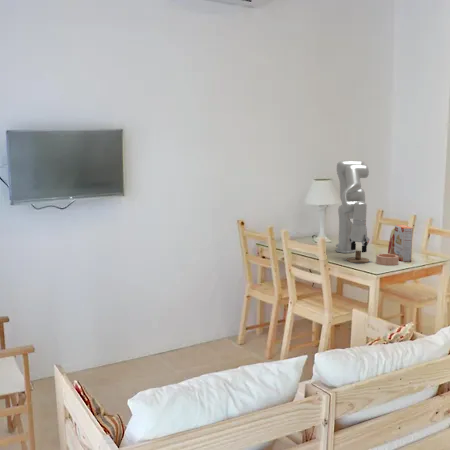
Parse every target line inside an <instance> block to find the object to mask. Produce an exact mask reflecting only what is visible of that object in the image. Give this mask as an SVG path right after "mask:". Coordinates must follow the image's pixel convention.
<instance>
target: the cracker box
mask: <svg viewBox="0 0 450 450" xmlns="http://www.w3.org/2000/svg"><path fill="white" fill-rule="evenodd" d="M394 228H395V241H394V255H398V256H399V261H400V262H405V263H406V262H412V255H413V254H412V252H413V251H412V250H413V247H412V246H413V231H414V230H413V227H410V226H407V225H405V224H395V225H394Z"/></svg>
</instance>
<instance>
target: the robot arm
mask: <svg viewBox="0 0 450 450" xmlns="http://www.w3.org/2000/svg"><path fill="white" fill-rule="evenodd" d="M336 174H337V177H338V179H339V198H340V200H341V205H339V206H338V208H337V209H338V210H337V212H338V243H337V244H335V247H337V248H335V251H336V252H337V253H342V254H353V253H356V251H357V250H356V248H357V247H356V246H357V243H361V253H367V252H368V251H367V248H368V245H369V243H370V238H369V237H368V232H367V231H368V228H367V209H368V208H367V206H368V205H367V203H366V195H365V190H364V189H363V188H361V187H362V181H361V179H366V178H368V177H369V175H370V171H369V167H368V165H367V164H366V163H365V161H363V160H341V161H338V163H336Z"/></svg>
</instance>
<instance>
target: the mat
mask: <svg viewBox="0 0 450 450" xmlns="http://www.w3.org/2000/svg"><path fill="white" fill-rule="evenodd" d="M343 261H345V262H348V261H347V259H343ZM348 263H349V262H348ZM351 263H352V262H350V264H351ZM369 263H373V261H372V260H369V262H368V263H367V264H369ZM352 264H355V265H360V264H361V265H362V264H363V263H352Z"/></svg>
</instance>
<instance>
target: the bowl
mask: <svg viewBox="0 0 450 450" xmlns="http://www.w3.org/2000/svg"><path fill="white" fill-rule="evenodd" d="M375 255H376V257H375V258H376V259H375V263H376V264H378V265H382V266H398V264H399V262H400V260H399V256H398V255H394V254H388V253H376V254H375Z"/></svg>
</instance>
